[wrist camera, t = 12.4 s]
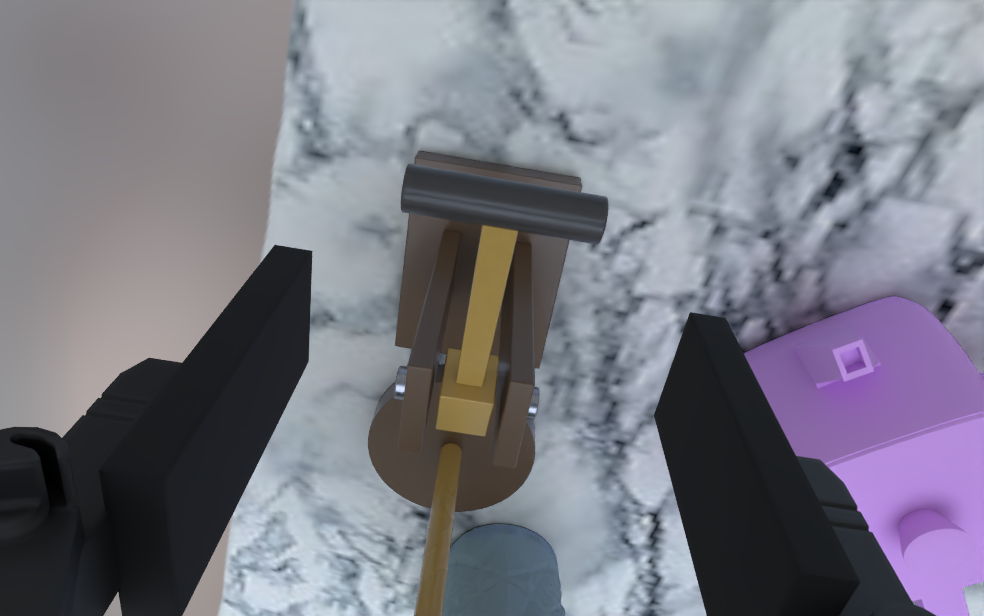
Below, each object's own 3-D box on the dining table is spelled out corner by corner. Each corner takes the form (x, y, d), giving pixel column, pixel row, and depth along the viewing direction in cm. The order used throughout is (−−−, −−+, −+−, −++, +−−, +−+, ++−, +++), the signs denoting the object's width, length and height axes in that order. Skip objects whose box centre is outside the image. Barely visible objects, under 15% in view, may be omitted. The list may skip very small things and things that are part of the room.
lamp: (491, 320, 42) (445, 858, 18) (581, 463, 48) (641, 1029, 23) (321, 397, 46) (88, 936, 21) (423, 523, 51) (330, 1070, 27)
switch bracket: (418, 150, 37) (362, 269, 24) (580, 177, 38) (609, 309, 25) (398, 335, 43) (344, 510, 30) (538, 357, 44) (544, 539, 31)
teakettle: (888, 521, 49) (990, 688, 38) (664, 466, 48) (705, 625, 37) (1041, 324, 41) (1227, 467, 30) (778, 251, 39) (874, 374, 29)
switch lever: (412, 143, 21) (397, 197, 19) (608, 176, 21) (609, 232, 19) (401, 375, 31) (391, 422, 29) (532, 396, 31) (529, 444, 30)
